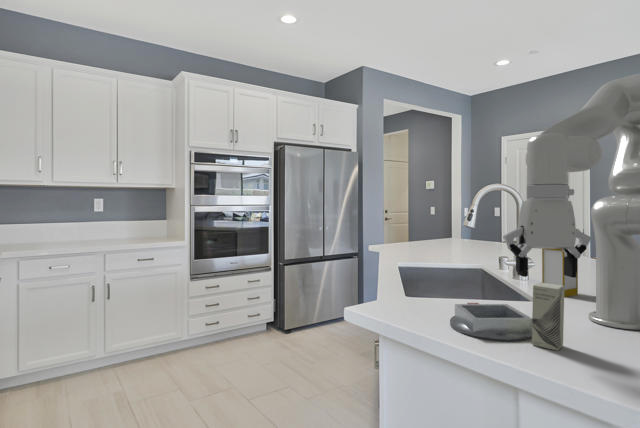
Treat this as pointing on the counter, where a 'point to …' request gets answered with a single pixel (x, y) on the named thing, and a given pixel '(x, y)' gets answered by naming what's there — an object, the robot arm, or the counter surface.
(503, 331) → the disc with square frame
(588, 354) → the counter surface
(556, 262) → the soap bottle
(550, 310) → the box
